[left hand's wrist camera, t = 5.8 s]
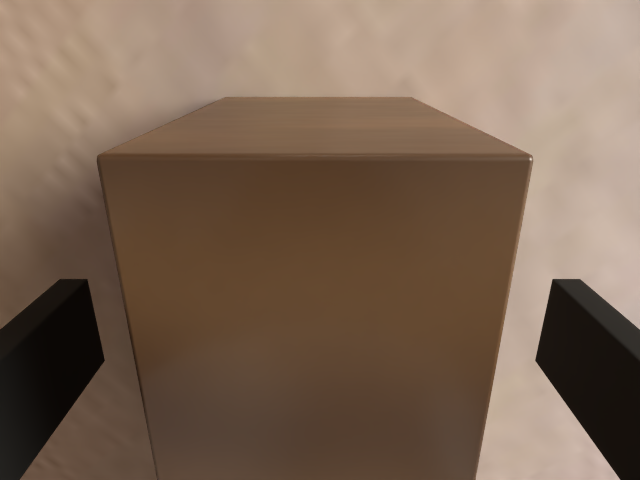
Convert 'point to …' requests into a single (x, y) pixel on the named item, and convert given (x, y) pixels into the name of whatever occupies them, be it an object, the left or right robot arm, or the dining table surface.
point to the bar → (315, 286)
